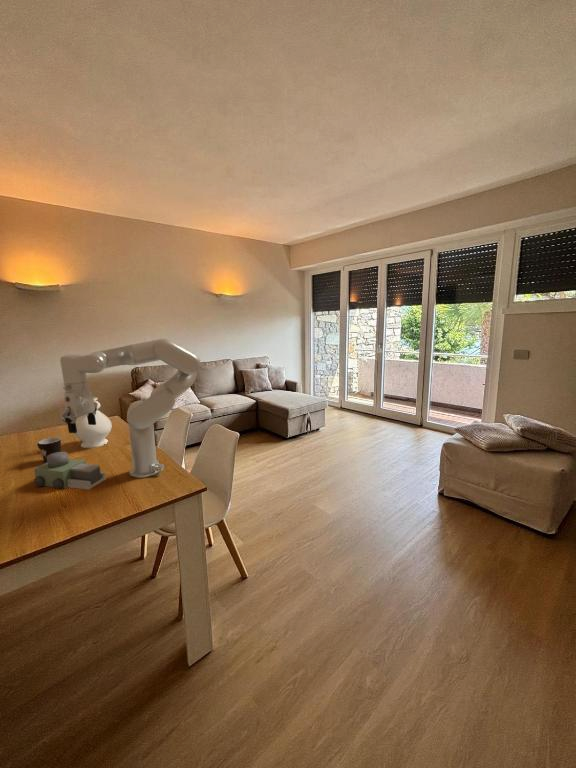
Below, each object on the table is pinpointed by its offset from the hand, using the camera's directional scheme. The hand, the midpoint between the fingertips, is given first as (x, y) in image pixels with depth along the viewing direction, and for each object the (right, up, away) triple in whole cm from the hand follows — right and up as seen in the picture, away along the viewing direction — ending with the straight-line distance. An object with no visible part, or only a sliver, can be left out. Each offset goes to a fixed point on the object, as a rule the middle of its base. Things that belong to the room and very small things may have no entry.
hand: (83, 428), depth 131 cm
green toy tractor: (-7, -22, +4) cm, 24 cm away
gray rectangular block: (0, -22, +3) cm, 22 cm away
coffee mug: (-31, -19, +26) cm, 44 cm away
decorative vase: (-22, -15, +46) cm, 53 cm away
